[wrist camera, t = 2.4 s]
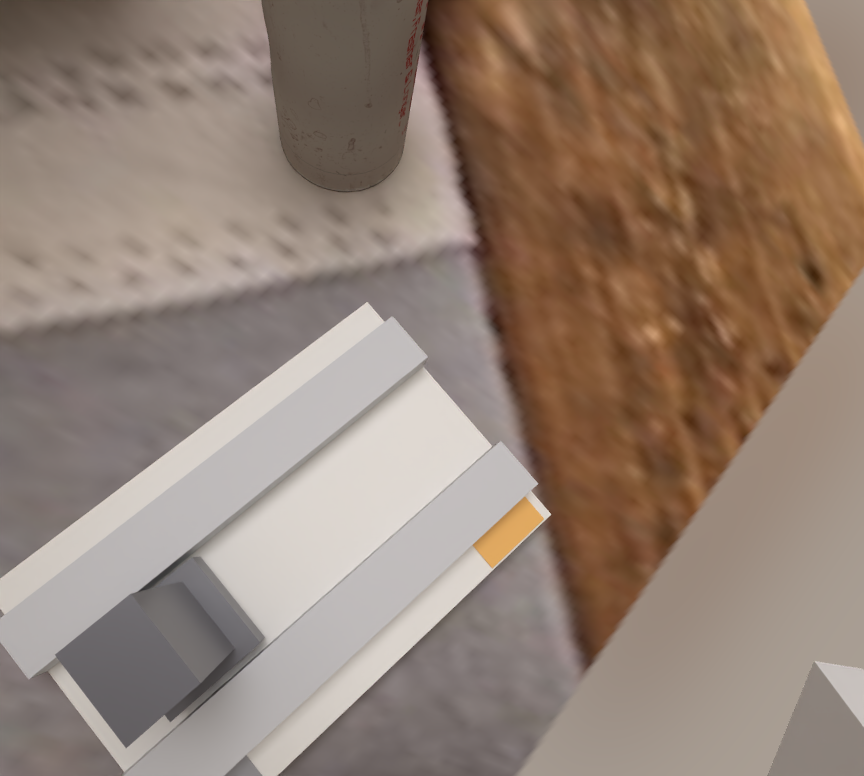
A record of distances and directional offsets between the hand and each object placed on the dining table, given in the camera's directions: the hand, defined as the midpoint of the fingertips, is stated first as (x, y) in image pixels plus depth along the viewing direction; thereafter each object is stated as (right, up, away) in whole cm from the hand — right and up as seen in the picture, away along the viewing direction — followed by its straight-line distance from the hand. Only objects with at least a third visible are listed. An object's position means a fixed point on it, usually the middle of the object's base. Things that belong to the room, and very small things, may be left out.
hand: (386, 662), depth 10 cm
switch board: (-7, -5, +26) cm, 27 cm away
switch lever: (-11, -8, +22) cm, 26 cm away
